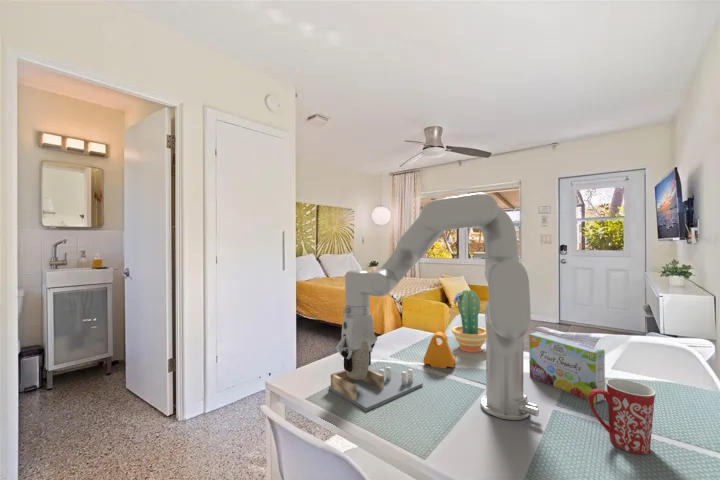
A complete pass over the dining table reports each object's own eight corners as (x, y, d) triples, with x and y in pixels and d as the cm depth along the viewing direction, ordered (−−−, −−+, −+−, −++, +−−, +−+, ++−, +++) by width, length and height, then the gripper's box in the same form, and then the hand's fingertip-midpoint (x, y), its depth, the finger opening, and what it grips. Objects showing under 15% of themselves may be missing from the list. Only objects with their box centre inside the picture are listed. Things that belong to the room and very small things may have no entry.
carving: (369, 381, 102) (369, 342, 101) (344, 381, 102) (344, 341, 102) (369, 373, 108) (369, 335, 108) (346, 373, 108) (345, 335, 108)
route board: (422, 386, 108) (422, 370, 108) (366, 411, 93) (366, 393, 92) (383, 369, 122) (383, 355, 122) (328, 389, 106) (328, 373, 106)
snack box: (528, 377, 115) (528, 333, 115) (538, 374, 117) (538, 331, 117) (595, 404, 96) (595, 351, 96) (606, 400, 98) (606, 348, 98)
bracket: (455, 362, 128) (455, 331, 128) (453, 369, 122) (453, 336, 122) (427, 359, 132) (427, 328, 132) (423, 365, 126) (423, 333, 126)
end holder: (383, 388, 104) (383, 375, 104) (353, 400, 97) (353, 386, 97) (359, 376, 113) (359, 364, 113) (330, 387, 105) (330, 374, 105)
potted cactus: (464, 340, 155) (464, 286, 155) (496, 349, 143) (496, 290, 143) (444, 348, 145) (443, 290, 145) (476, 357, 133) (476, 294, 133)
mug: (645, 437, 80) (645, 381, 80) (664, 461, 71) (664, 398, 71) (583, 427, 84) (582, 373, 84) (594, 449, 76) (594, 389, 76)
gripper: (342, 316, 96) (342, 378, 96) (385, 308, 107) (385, 364, 108) (327, 312, 102) (327, 371, 102) (370, 304, 113) (370, 357, 113)
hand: (357, 366), depth 105 cm, fingers closed on carving, 6 cm apart
